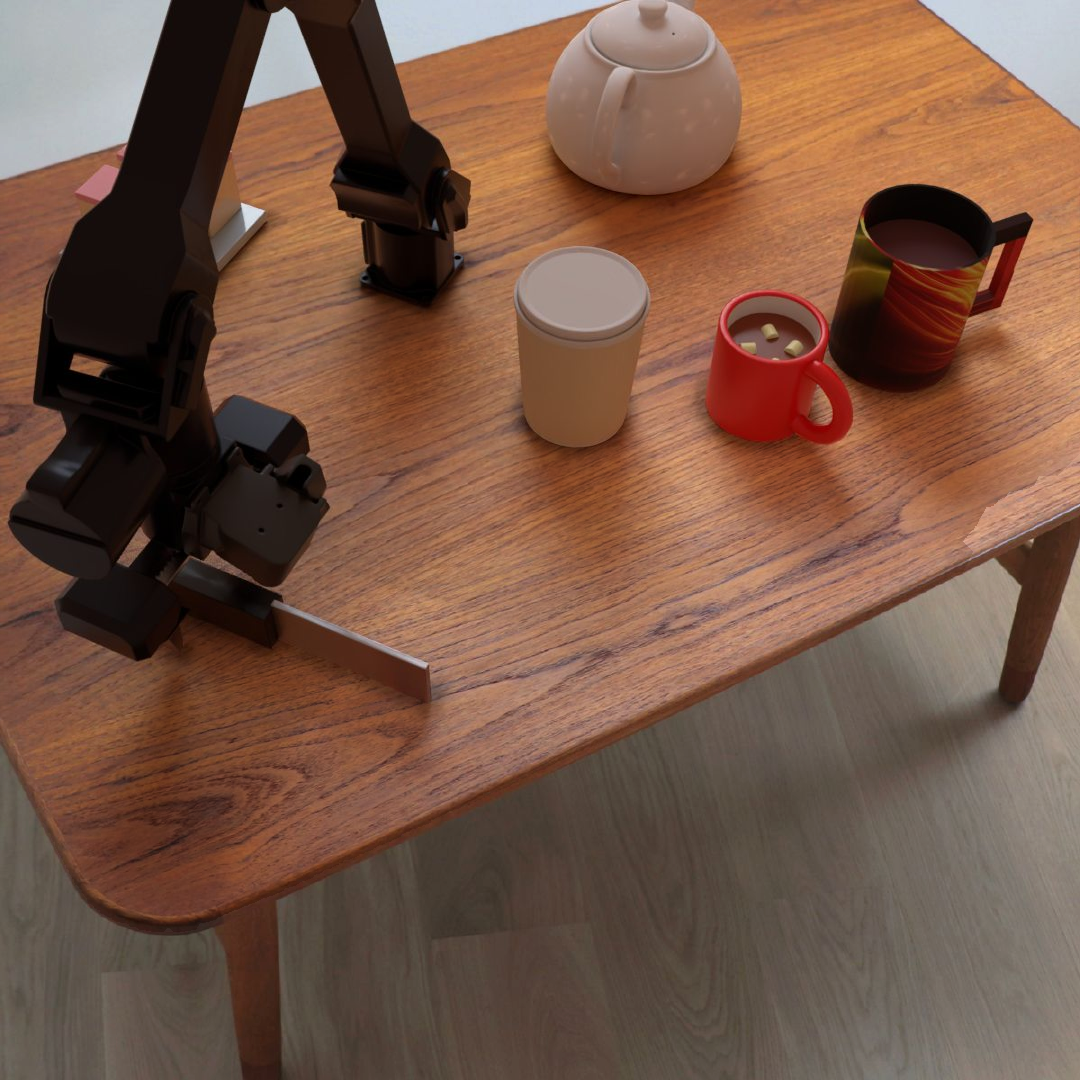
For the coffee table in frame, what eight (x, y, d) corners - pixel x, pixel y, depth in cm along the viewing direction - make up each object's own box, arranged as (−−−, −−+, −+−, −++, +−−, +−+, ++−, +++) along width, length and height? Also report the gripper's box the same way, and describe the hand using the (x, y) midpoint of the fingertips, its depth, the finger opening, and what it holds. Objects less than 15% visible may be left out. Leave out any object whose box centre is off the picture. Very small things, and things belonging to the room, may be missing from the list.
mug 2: (998, 315, 109) (1046, 193, 100) (913, 411, 102) (956, 290, 93) (893, 263, 113) (929, 140, 103) (804, 353, 106) (834, 230, 97)
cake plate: (267, 220, 114) (256, 154, 109) (186, 307, 107) (170, 242, 102) (147, 179, 117) (131, 113, 112) (61, 262, 110) (39, 196, 105)
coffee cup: (652, 383, 104) (667, 261, 94) (616, 470, 98) (628, 350, 89) (536, 353, 105) (540, 229, 96) (494, 437, 100) (494, 315, 90)
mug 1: (806, 490, 97) (827, 415, 91) (683, 400, 103) (695, 322, 96) (874, 435, 101) (899, 359, 95) (752, 350, 106) (768, 273, 100)
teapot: (501, 112, 124) (502, -29, 113) (679, 67, 129) (695, -72, 119) (592, 235, 114) (602, 93, 103) (780, 180, 119) (808, 40, 108)
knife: (438, 687, 87) (435, 652, 83) (421, 714, 85) (419, 680, 82) (160, 571, 92) (148, 534, 89) (141, 595, 90) (129, 558, 87)
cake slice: (202, 248, 110) (190, 192, 106) (174, 278, 108) (160, 222, 104) (120, 220, 112) (104, 163, 108) (91, 248, 110) (73, 192, 106)
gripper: (193, 614, 69) (239, 762, 82) (373, 378, 80) (389, 541, 92) (16, 538, 72) (86, 692, 84) (212, 320, 83) (249, 485, 95)
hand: (212, 599), depth 89 cm, fingers open, 8 cm apart
